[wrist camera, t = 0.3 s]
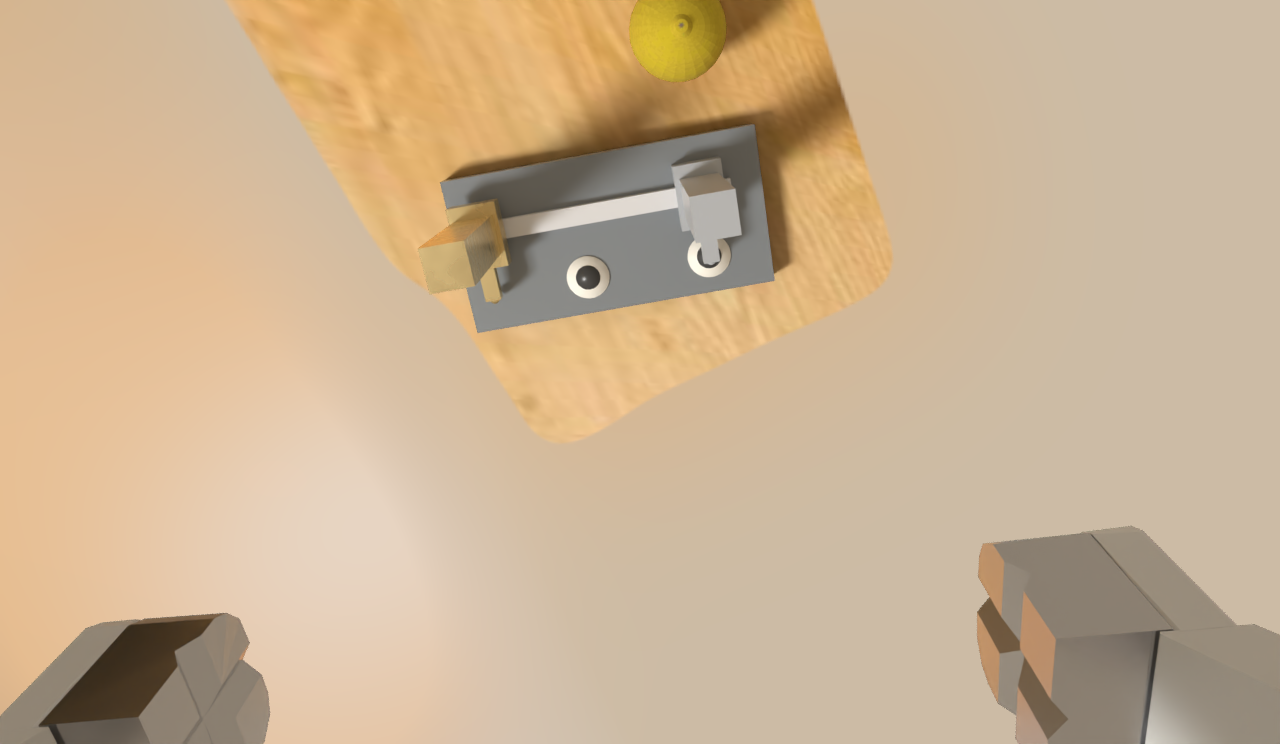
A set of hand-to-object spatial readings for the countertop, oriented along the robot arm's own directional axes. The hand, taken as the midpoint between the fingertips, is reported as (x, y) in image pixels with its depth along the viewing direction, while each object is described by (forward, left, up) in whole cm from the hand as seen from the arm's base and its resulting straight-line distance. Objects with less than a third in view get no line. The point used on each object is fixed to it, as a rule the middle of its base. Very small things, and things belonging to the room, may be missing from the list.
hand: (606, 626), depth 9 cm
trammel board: (+3, -2, -47) cm, 47 cm away
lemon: (-8, +4, -48) cm, 48 cm away
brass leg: (+3, -10, -45) cm, 46 cm away
